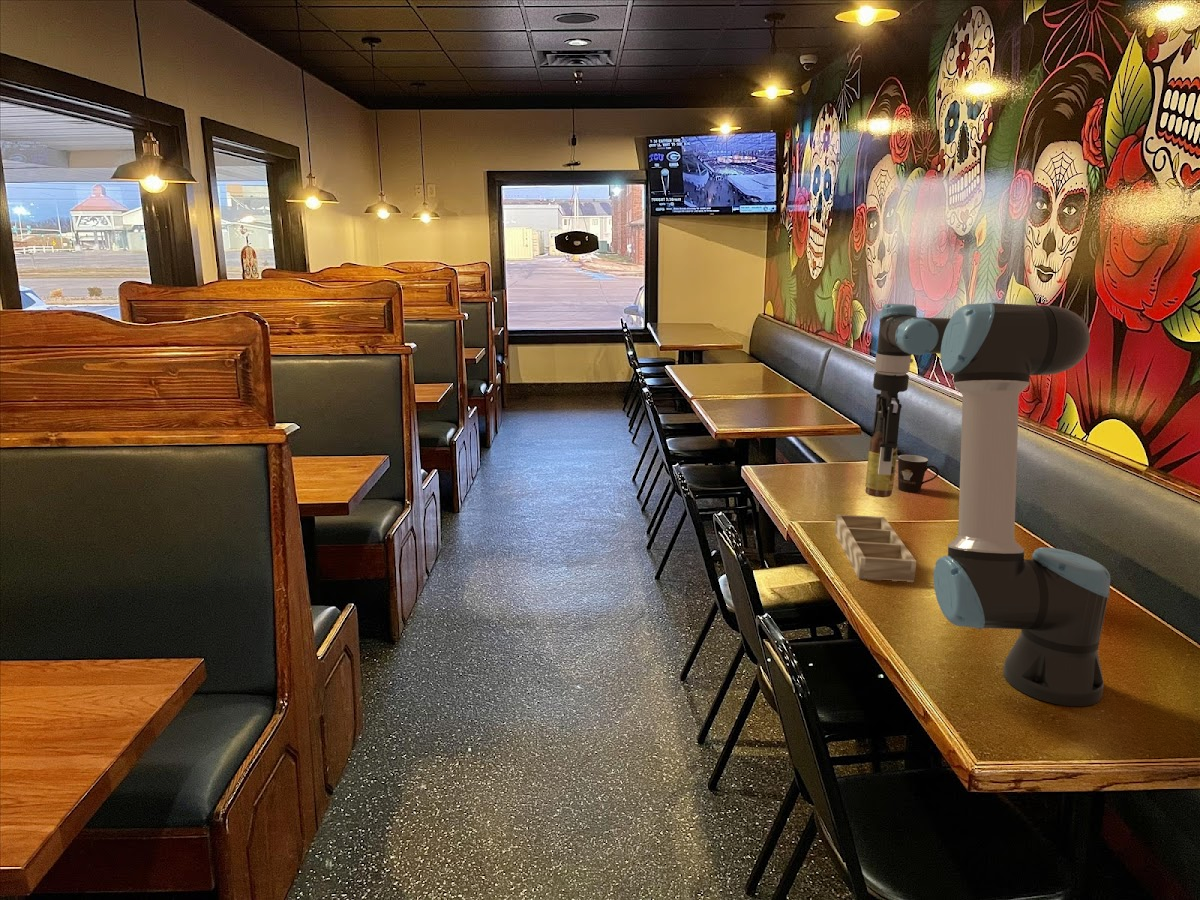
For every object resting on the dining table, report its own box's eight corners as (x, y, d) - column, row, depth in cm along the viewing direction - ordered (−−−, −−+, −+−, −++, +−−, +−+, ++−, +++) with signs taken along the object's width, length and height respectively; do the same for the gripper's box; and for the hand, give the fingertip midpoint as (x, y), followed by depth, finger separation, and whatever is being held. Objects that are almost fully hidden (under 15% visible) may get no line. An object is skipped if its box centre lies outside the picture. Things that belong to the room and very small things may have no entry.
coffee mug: (888, 487, 260) (892, 456, 258) (909, 484, 264) (913, 453, 261) (916, 497, 250) (920, 465, 248) (938, 494, 254) (942, 463, 251)
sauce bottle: (893, 499, 195) (904, 416, 190) (865, 497, 196) (875, 414, 191) (890, 491, 201) (900, 410, 196) (863, 489, 202) (872, 408, 197)
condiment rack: (913, 582, 187) (916, 561, 185) (858, 579, 188) (861, 558, 186) (881, 535, 217) (884, 517, 215) (834, 532, 218) (836, 514, 216)
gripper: (920, 380, 182) (907, 482, 187) (898, 367, 200) (887, 460, 206) (884, 378, 182) (873, 480, 188) (866, 365, 201) (856, 459, 207)
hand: (880, 470), depth 197 cm, fingers closed on sauce bottle, 6 cm apart
